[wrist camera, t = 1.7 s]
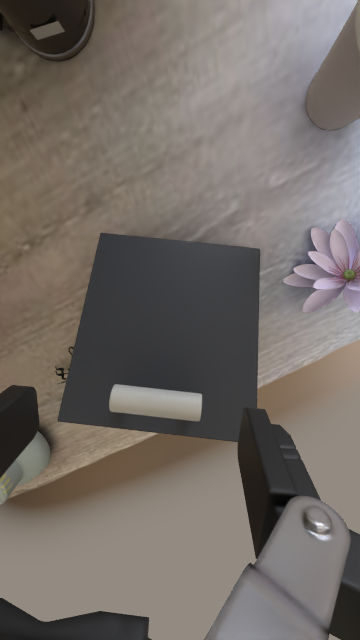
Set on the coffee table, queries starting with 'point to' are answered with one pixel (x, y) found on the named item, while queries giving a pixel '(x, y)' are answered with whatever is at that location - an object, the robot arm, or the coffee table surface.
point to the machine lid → (166, 338)
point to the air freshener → (25, 466)
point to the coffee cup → (338, 80)
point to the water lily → (331, 268)
